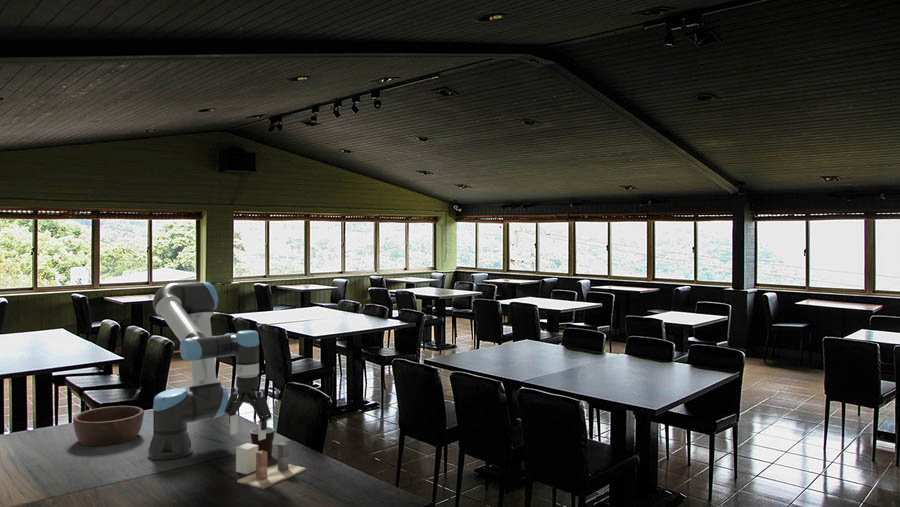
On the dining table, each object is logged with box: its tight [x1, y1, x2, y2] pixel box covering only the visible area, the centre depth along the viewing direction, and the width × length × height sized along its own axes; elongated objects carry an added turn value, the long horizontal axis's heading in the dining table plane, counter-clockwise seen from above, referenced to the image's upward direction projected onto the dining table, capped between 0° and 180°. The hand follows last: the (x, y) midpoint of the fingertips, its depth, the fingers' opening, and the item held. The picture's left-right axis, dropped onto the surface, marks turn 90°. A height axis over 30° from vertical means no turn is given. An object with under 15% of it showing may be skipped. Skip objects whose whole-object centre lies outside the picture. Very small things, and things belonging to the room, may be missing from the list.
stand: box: [236, 441, 307, 490], centre depth 215 cm, size 12×20×10 cm, turn 151°
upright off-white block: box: [235, 442, 258, 475], centre depth 219 cm, size 5×5×9 cm
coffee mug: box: [249, 426, 276, 460], centre depth 234 cm, size 12×9×10 cm
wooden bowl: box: [72, 405, 145, 447], centre depth 253 cm, size 25×25×10 cm
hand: (247, 436), depth 219 cm, fingers open, 13 cm apart
